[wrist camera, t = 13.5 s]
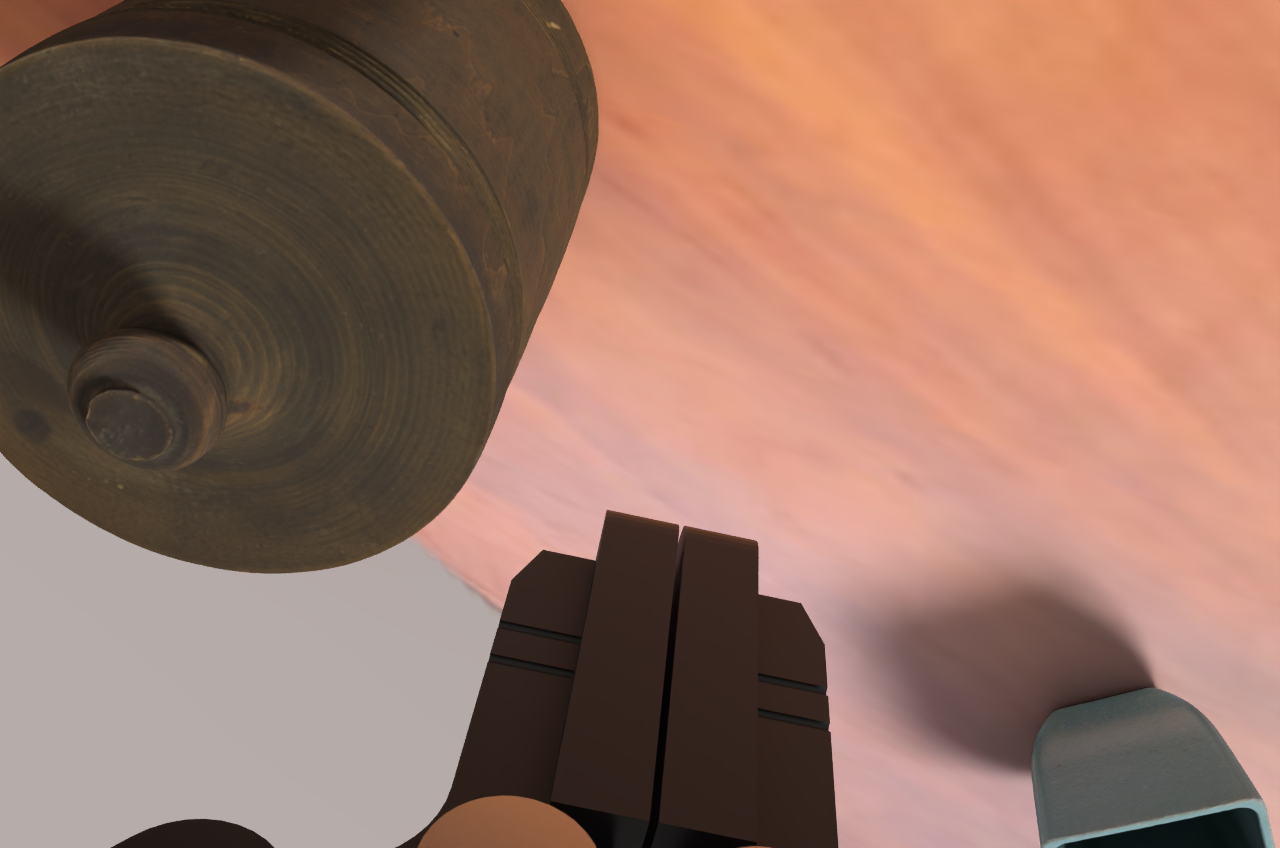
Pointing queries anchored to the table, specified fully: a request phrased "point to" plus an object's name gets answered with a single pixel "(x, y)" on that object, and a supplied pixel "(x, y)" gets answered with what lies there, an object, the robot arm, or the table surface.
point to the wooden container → (279, 261)
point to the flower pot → (1142, 778)
